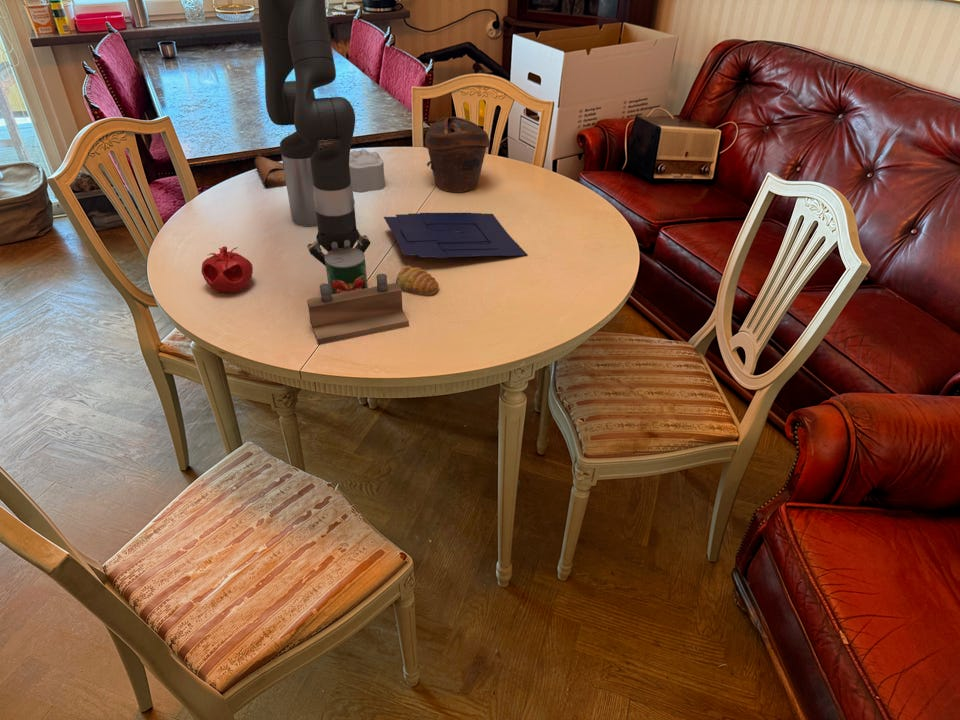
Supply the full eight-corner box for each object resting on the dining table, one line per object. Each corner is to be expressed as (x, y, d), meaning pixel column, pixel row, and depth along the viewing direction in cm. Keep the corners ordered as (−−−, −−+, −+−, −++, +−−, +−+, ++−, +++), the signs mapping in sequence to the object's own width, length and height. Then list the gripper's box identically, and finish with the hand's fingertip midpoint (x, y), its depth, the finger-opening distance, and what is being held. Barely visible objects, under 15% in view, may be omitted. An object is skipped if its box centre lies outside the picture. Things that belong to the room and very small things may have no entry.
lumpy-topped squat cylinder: (353, 194, 173) (350, 163, 168) (340, 177, 182) (337, 147, 177) (388, 188, 177) (386, 158, 172) (374, 172, 186) (372, 143, 181)
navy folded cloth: (380, 223, 156) (381, 210, 154) (490, 222, 167) (492, 210, 165) (405, 270, 138) (406, 255, 136) (526, 265, 149) (529, 252, 147)
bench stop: (310, 322, 123) (303, 282, 118) (397, 305, 129) (395, 267, 124) (318, 344, 118) (311, 304, 112) (409, 325, 123) (407, 286, 118)
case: (447, 166, 191) (447, 106, 180) (501, 183, 183) (504, 121, 172) (409, 184, 180) (407, 120, 169) (464, 202, 171) (466, 137, 160)
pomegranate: (216, 273, 137) (206, 234, 131) (262, 275, 137) (253, 236, 131) (199, 297, 129) (187, 257, 124) (247, 299, 129) (237, 259, 123)
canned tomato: (355, 289, 134) (350, 243, 127) (376, 304, 129) (373, 257, 122) (323, 302, 129) (316, 255, 122) (344, 318, 125) (338, 270, 118)
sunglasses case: (295, 184, 177) (280, 166, 172) (276, 199, 177) (260, 181, 172) (283, 163, 189) (268, 145, 185) (265, 177, 189) (249, 160, 185)
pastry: (445, 288, 136) (445, 272, 133) (427, 301, 131) (426, 286, 129) (411, 275, 140) (410, 260, 137) (392, 288, 135) (391, 272, 133)
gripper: (363, 193, 125) (369, 267, 136) (296, 202, 121) (308, 278, 132) (373, 209, 120) (378, 285, 131) (303, 218, 116) (315, 296, 127)
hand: (343, 281), depth 131 cm, fingers closed
